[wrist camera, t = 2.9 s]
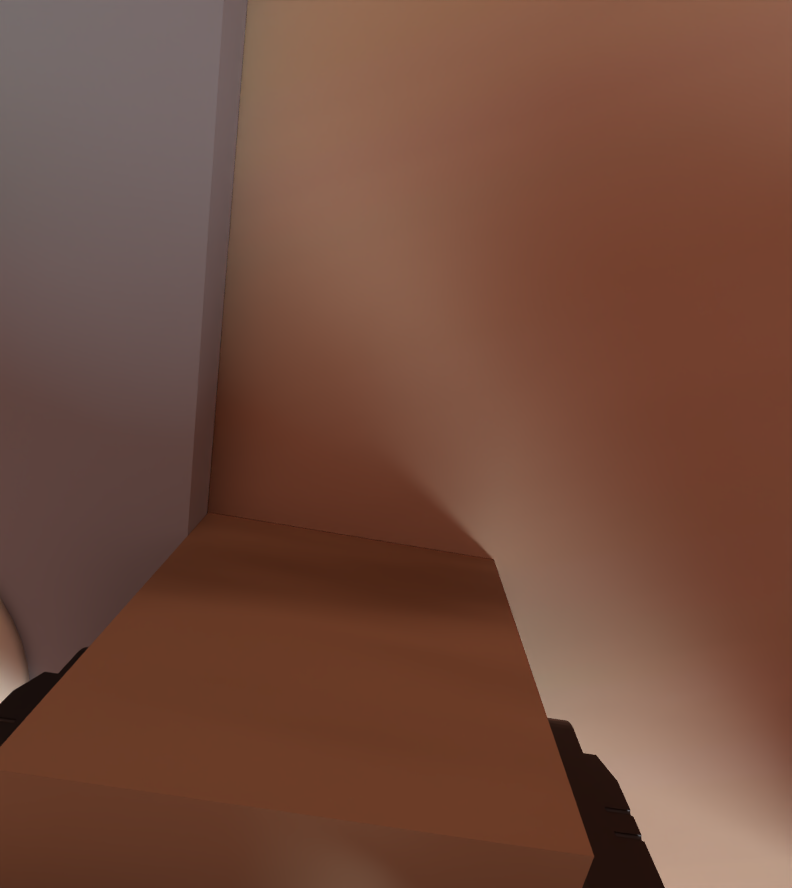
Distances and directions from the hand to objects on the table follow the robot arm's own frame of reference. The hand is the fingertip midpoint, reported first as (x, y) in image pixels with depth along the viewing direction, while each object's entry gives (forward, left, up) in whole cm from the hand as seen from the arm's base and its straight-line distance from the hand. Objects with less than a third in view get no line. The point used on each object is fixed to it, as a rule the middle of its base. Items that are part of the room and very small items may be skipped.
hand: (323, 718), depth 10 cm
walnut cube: (0, 0, -2) cm, 2 cm away
